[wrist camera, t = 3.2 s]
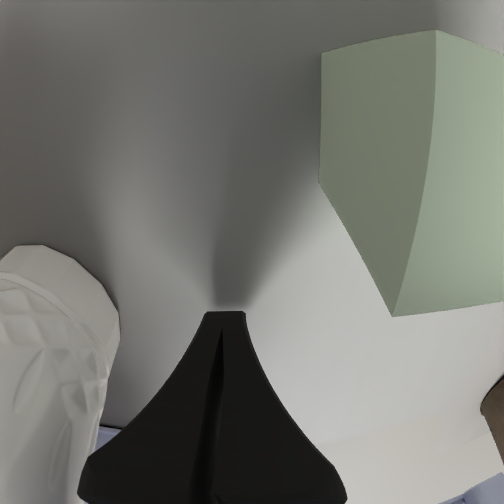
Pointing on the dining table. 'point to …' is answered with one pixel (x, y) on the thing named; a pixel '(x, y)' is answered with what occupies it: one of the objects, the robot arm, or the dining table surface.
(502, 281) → the block
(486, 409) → the pillar candle
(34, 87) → the dining table surface
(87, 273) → the white cup
